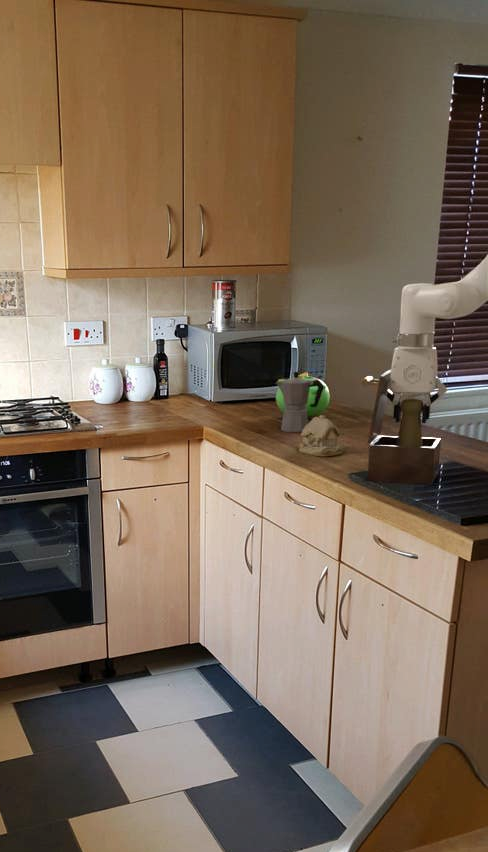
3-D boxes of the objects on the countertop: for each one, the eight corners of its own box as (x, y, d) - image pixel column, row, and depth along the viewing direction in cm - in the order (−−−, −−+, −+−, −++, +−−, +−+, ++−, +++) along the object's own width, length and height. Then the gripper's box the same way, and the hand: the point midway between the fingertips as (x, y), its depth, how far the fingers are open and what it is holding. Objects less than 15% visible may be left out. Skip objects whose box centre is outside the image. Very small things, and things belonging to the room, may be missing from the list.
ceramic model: (290, 449, 245) (291, 414, 242) (324, 445, 249) (325, 410, 246) (319, 458, 233) (320, 420, 230) (353, 453, 237) (355, 416, 234)
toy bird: (330, 414, 303) (331, 370, 298) (327, 422, 287) (328, 376, 283) (278, 413, 307) (278, 371, 302) (272, 421, 291) (273, 376, 287)
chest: (438, 474, 211) (440, 438, 208) (431, 486, 200) (434, 448, 197) (377, 471, 216) (378, 435, 213) (367, 482, 205) (369, 445, 202)
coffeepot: (270, 431, 274) (270, 372, 268) (280, 426, 282) (281, 369, 276) (317, 434, 267) (319, 374, 261) (326, 429, 275) (328, 370, 269)
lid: (392, 370, 207) (370, 366, 209) (383, 376, 196) (359, 372, 198) (380, 434, 213) (358, 430, 215) (370, 443, 202) (347, 439, 204)
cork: (415, 443, 208) (419, 396, 205) (427, 447, 203) (430, 399, 199) (391, 444, 207) (394, 397, 204) (402, 449, 202) (405, 401, 198)
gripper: (374, 342, 197) (370, 423, 203) (454, 343, 191) (447, 426, 197) (380, 340, 204) (376, 418, 210) (457, 340, 197) (451, 420, 203)
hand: (411, 421), depth 203 cm, fingers closed on cork, 5 cm apart
